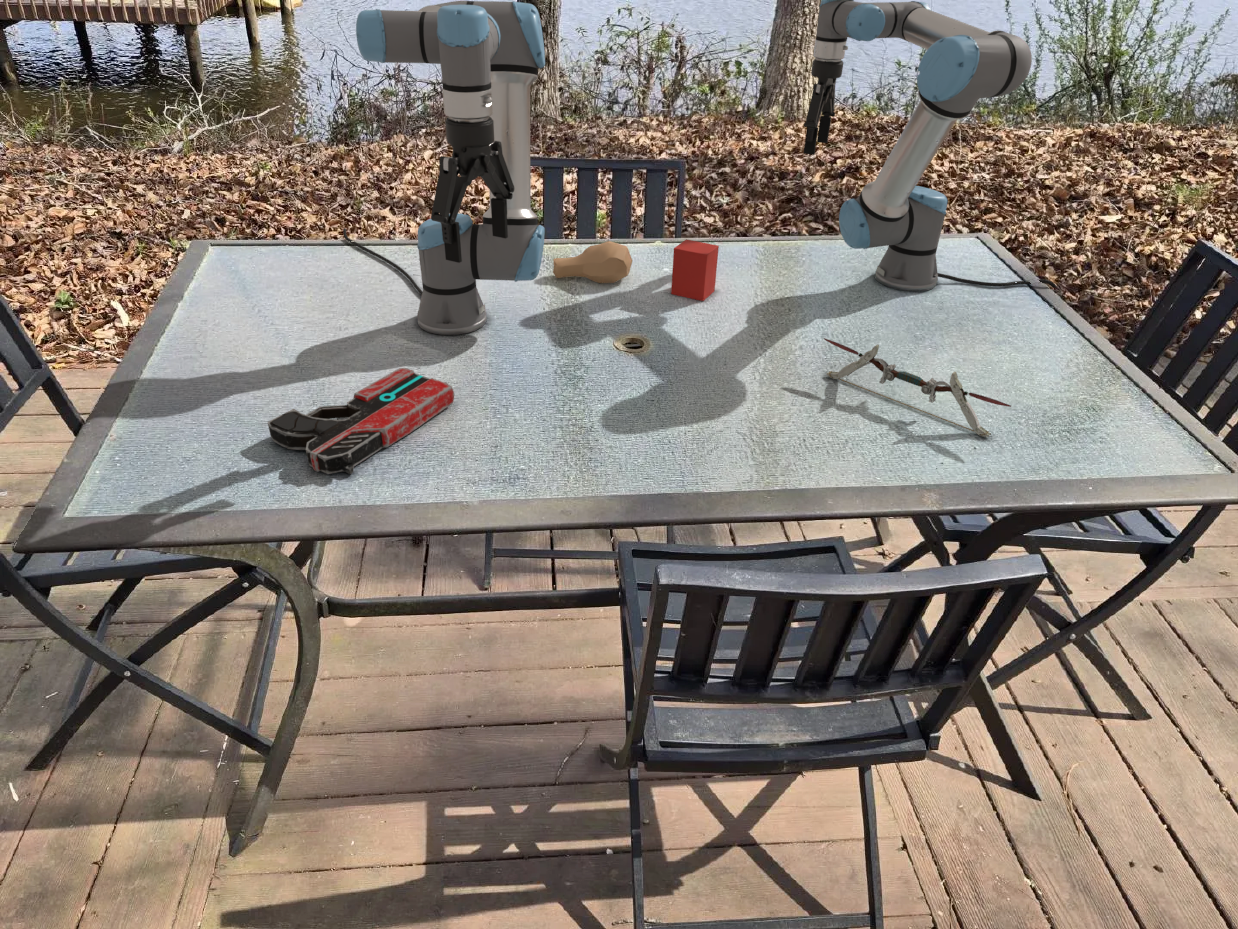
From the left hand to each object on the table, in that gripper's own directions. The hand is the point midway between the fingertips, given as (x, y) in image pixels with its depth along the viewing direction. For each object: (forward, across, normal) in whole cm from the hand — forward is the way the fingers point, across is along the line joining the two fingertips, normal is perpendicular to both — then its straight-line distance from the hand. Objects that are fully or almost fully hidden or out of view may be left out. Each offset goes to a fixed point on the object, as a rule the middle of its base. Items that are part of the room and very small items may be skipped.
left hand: (477, 248), depth 149 cm
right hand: (+4, +116, -25) cm, 118 cm away
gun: (+31, -17, +15) cm, 38 cm away
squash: (+31, +66, +14) cm, 74 cm away
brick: (+31, +71, -12) cm, 78 cm away
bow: (+31, +40, -69) cm, 86 cm away
